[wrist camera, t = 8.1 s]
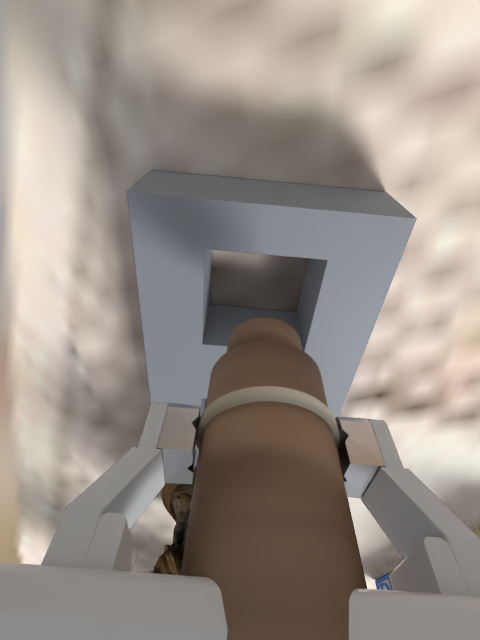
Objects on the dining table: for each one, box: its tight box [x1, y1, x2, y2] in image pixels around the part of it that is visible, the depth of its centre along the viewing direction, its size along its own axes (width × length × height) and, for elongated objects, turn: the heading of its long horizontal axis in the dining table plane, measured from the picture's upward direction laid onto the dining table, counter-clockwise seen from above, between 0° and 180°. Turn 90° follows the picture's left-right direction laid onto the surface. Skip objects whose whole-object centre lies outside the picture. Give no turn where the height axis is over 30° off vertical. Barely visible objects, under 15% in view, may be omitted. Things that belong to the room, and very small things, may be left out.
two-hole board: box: [127, 170, 417, 467], centre depth 21 cm, size 20×12×4 cm, turn 175°
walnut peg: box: [180, 318, 367, 640], centre depth 10 cm, size 4×4×10 cm
